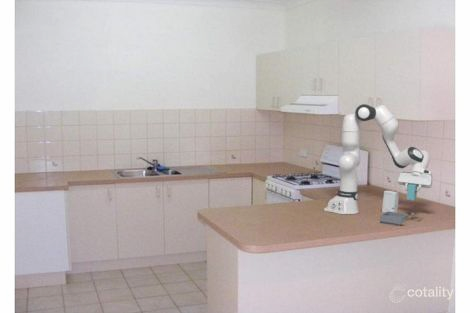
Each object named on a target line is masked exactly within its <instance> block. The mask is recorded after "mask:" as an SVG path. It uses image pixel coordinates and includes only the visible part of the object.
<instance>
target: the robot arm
mask: <svg viewBox="0 0 470 313" xmlns="http://www.w3.org/2000/svg"><path fill="white" fill-rule="evenodd" d="M342 120H343V121H342V124H341V125H342V126H341V146H342V147H341V148H342V154H341V156H340V157H339V159H338V171H339V180H340V181H339V189H338V190H337V191H335V194H336V195H335V196H334V197H333V198H331V199H329V200H328V201H327V202H328V203H327V206H326V207H324V208H323V211H325V212H329V213H334V214H339V215H357V214H359V206H358V199H359V198H358V197H359V195H358V194H359V192H358V183H359V182H358V181H359V180H358V172H357V167H359V165H360V164H361V150H360V126H361V124H362V122H367V121H371V120H374V121H375V122H376V124H377V125H378V127H379V128H380V131H381V132H382V135H381V136H382V140H383V142H384V144H385V147H386V148H387V151H388V152H389V153H390V156H391V159H392V162H393V164H394V165H395V167H397V168H399V169H405V168H406V167H408V166H409V165H410V166H412V167H411V169H410V171H403V172H401V173H399V177H398V178H397V183H398V185H401V186H405V191H407V188H408V185H409V184H415V185H417V188H416V190H415V191H416V192H417V193H419V191H420V190H421V189H422V188H425V189H431V188H432V186H433V173H432V171H431V170H428V167H429V164H430V160H431V159H430V158H431V156H430V153H429V152H428V151H426V150H425V149H423V150H420V149H418V148H417V147H415V146H410V147H408V148H406V149H405V148H404V150H402V151H400V149H399V147H398V145H397V143H396V142H395V135H396V134H397V132H398V130H399V127H400V123H399V122H398V121H399V120H397V118H396V116H395V114H394V113H393V112H392V111H391V110H390V109H389V108H388V107H387V106H386V105H384V104H380V105H377V106H376V107H374V106H372V105H370V104H369V103H361V104H359V105H358V106H357V107H356V108H355V111H354V113H349V114H346V115H344V117H343V119H342Z"/></svg>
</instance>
